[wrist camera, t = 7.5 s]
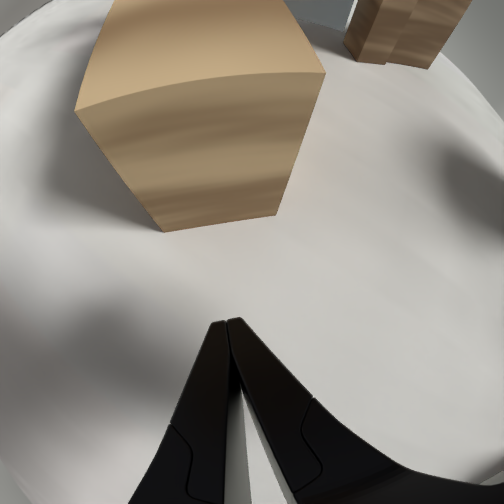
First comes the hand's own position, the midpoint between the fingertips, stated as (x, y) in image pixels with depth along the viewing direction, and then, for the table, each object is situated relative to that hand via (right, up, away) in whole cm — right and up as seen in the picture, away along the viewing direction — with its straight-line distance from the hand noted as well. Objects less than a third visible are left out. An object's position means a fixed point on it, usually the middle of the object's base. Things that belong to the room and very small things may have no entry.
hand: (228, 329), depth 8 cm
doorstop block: (-3, +12, +9) cm, 16 cm away
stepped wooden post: (+14, +20, +12) cm, 27 cm away
